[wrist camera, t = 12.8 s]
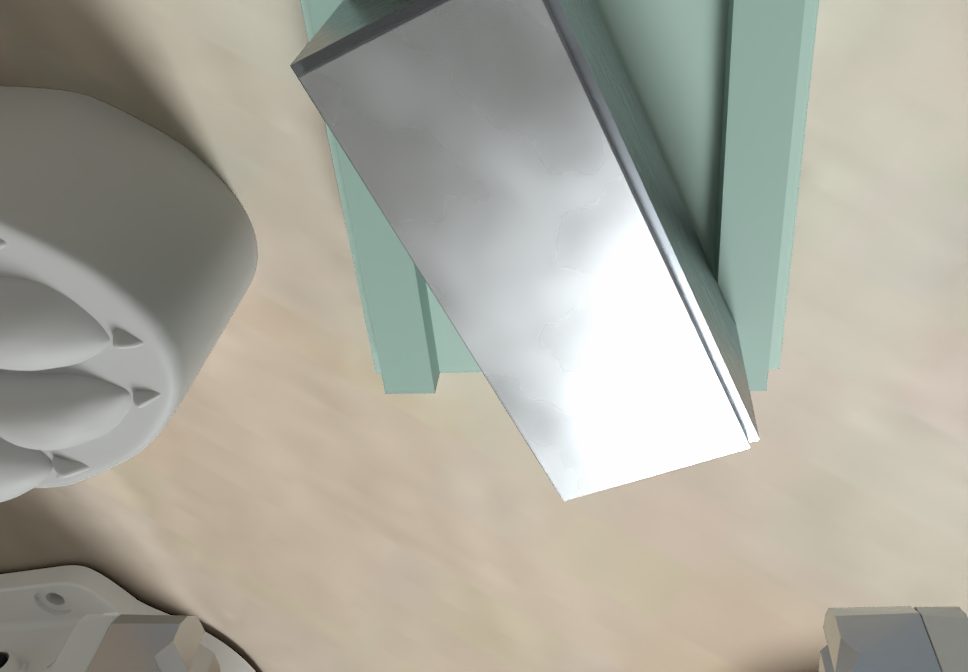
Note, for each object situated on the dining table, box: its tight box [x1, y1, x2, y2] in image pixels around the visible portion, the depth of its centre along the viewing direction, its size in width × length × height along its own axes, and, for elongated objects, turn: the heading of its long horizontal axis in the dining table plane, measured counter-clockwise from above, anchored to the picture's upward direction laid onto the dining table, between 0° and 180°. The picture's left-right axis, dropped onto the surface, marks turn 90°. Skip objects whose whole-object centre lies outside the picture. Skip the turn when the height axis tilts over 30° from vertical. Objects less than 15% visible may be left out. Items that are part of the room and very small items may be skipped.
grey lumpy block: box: [0, 86, 258, 502], centre depth 28 cm, size 10×13×9 cm
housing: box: [290, 0, 759, 501], centre depth 21 cm, size 12×5×5 cm, turn 28°
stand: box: [300, 0, 819, 394], centre depth 25 cm, size 12×14×5 cm
